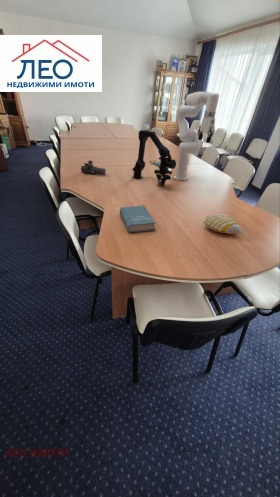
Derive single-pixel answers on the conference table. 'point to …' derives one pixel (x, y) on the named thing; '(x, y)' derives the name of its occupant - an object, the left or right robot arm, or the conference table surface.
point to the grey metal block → (160, 183)
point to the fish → (223, 224)
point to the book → (137, 219)
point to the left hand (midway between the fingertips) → (161, 184)
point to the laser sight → (92, 169)
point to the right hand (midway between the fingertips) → (203, 141)
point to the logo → (155, 162)
